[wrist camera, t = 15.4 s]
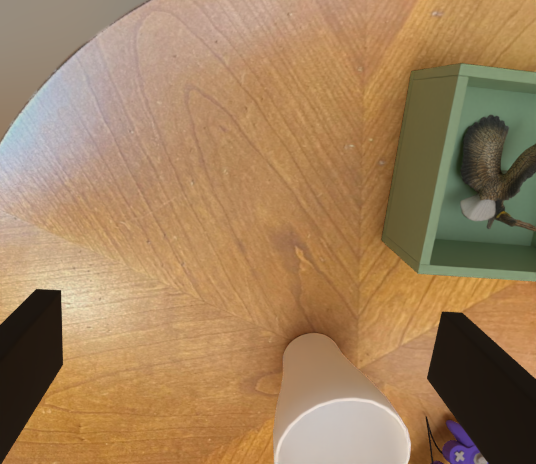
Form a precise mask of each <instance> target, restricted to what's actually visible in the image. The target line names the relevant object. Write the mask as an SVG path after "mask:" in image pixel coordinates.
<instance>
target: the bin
mask: <svg viewBox="0 0 536 464" xmlns="http://www.w3.org/2000/svg"><path fill="white" fill-rule="evenodd" d="M489 115H493V116H494V117H495V116H499V118H500V120H503V121H504V122H505V125H506V126H508V127H509V131H508V134H507V136H506V140H505V142H504V145H503V152H502V156H501V172H502V171H504V170H507V171H508V170H509V168H510V167H511V166H512V164H513V163H514V162H515V161H516V159H517V158H518V157H519V156H520V155H521V154H522V153H523V152H524V151H525V150H526V149H528V148H529V147H531V146H533V145H534V144H536V72H530V71H522V70H514V69H505V68H497V67H489V66H481V65H472V64H464V63H460V64H453V65H447V66H441V67H434V68H428V69H422V70H416V71H411V76H410V82H409V87H408V93H407V99H406V104H405V110H404V115H403V121H402V127H401V132H400V138H399V144H398V149H397V155H396V161H395V166H394V172H393V178H392V183H391V189H390V195H389V200H388V206H387V212H386V217H385V223H384V229H383V234H382V241H383V242H384V243H385V244H386V245H387V246H388V247H389V248H390V249H391V250H392V251H394V252H395V253H396V254H397V255H398V256H399V257H400V258H401V259H402V260H403V261H405V262H406V263H407V264H408V265H409V266H410V267H411V268H412V269H413V270H414V271H416V272H417V273H418V274H430V275H445V276H461V277H476V278H491V279H507V280H522V281H536V231H532V230H528V229H526V228H522V227H518V226H513V227H511V226H509V225H507V224H505V223H502V222H500V221H497V220H494V222H493V223H492V225H491V228H490V229H487V224H488V220H484V221H472V220H469V219H467V217H466V216H464V215H463V214H462V210H461V207H460V202H461V200H463V199H466V198H469V197H471V196H473V195H476V194H477V192H476V191H474V188H471V187H470V186H469V185H467V184H465V182H464V181H463V180H462V176H461V171H460V169H461V165H463V162H462V160H463V155H464V153H463V146H464V144H463V140H464V135H465V134H466V132H467V130H468V129H469V127H470V126H473V125H474V123H475V122H478V123H479V122H480V120H481V119H482V118H483V117H486V118H487V117H488V116H489ZM503 205H504V206H505V212H507V213H508V214H509V215H510V216H511V217H512V218H514V219H516V220H520V221H522V222H526V223H530V224H532V225H533V226H535V227H536V173H535V174H534V175H533V176H532V177H531V178H528V179H527V180H526V181H525V182H523V184H522V186H521V187H520V192H519V193H517V194H516V195H515V196H514V197H512V198H509V200H505V201H504V203H503Z"/></svg>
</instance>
